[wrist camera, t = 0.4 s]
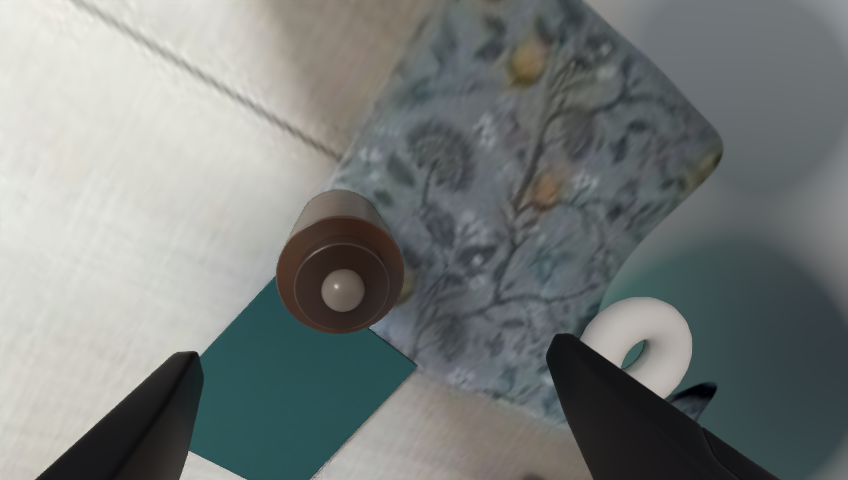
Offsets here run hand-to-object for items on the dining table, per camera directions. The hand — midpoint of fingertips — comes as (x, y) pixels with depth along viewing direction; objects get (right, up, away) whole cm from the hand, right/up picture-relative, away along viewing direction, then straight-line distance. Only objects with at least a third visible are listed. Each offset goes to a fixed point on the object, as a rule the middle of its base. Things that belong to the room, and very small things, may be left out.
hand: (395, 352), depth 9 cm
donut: (+17, -6, +22) cm, 29 cm away
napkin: (-9, -8, +16) cm, 20 cm away
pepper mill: (-5, +4, +14) cm, 16 cm away
